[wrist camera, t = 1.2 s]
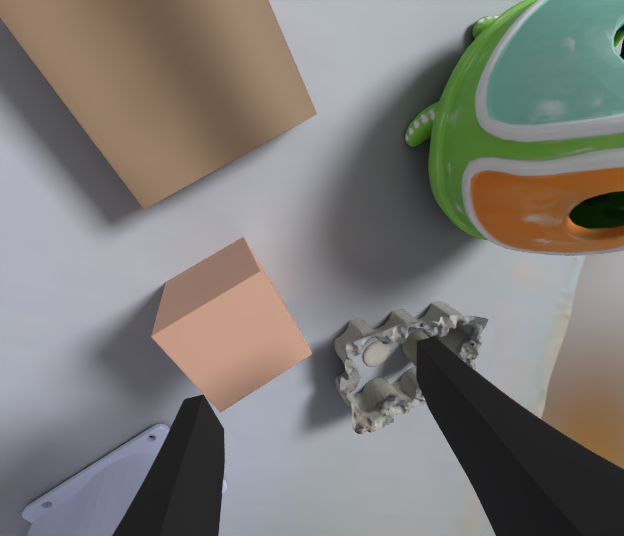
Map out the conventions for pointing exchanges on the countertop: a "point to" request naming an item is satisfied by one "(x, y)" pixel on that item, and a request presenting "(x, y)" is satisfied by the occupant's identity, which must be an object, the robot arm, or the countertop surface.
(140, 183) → the walnut block
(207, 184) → the countertop surface
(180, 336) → the terracotta block
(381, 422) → the egg carton
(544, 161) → the turtle holder
